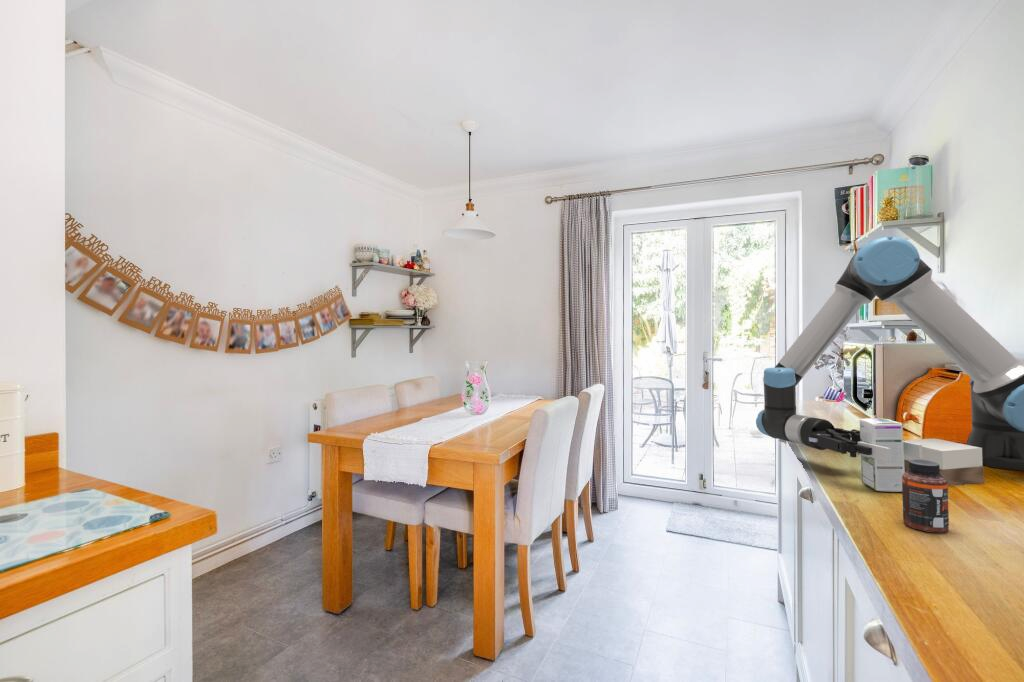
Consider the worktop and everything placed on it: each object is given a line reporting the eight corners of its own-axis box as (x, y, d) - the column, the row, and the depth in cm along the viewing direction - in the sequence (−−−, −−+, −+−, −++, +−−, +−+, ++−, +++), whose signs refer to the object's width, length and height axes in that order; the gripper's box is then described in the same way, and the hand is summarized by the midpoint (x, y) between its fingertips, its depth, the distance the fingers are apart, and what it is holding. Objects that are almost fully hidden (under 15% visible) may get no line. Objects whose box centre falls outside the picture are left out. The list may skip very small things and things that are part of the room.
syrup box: (906, 492, 96) (905, 422, 96) (874, 491, 98) (872, 422, 97) (890, 483, 102) (888, 417, 102) (860, 482, 103) (858, 417, 103)
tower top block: (935, 454, 111) (934, 438, 111) (982, 466, 101) (981, 447, 101) (898, 457, 110) (897, 441, 110) (942, 469, 100) (942, 451, 100)
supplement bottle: (953, 537, 76) (951, 468, 76) (906, 530, 79) (904, 464, 79) (944, 524, 81) (942, 459, 81) (900, 518, 84) (898, 456, 84)
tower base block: (938, 471, 111) (938, 455, 111) (983, 485, 101) (983, 466, 101) (899, 474, 110) (898, 457, 110) (940, 487, 100) (940, 469, 100)
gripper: (844, 443, 119) (944, 466, 97) (777, 450, 115) (865, 476, 93) (843, 414, 119) (943, 431, 97) (776, 420, 115) (864, 439, 93)
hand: (905, 453), depth 95 cm, fingers closed on syrup box, 7 cm apart
